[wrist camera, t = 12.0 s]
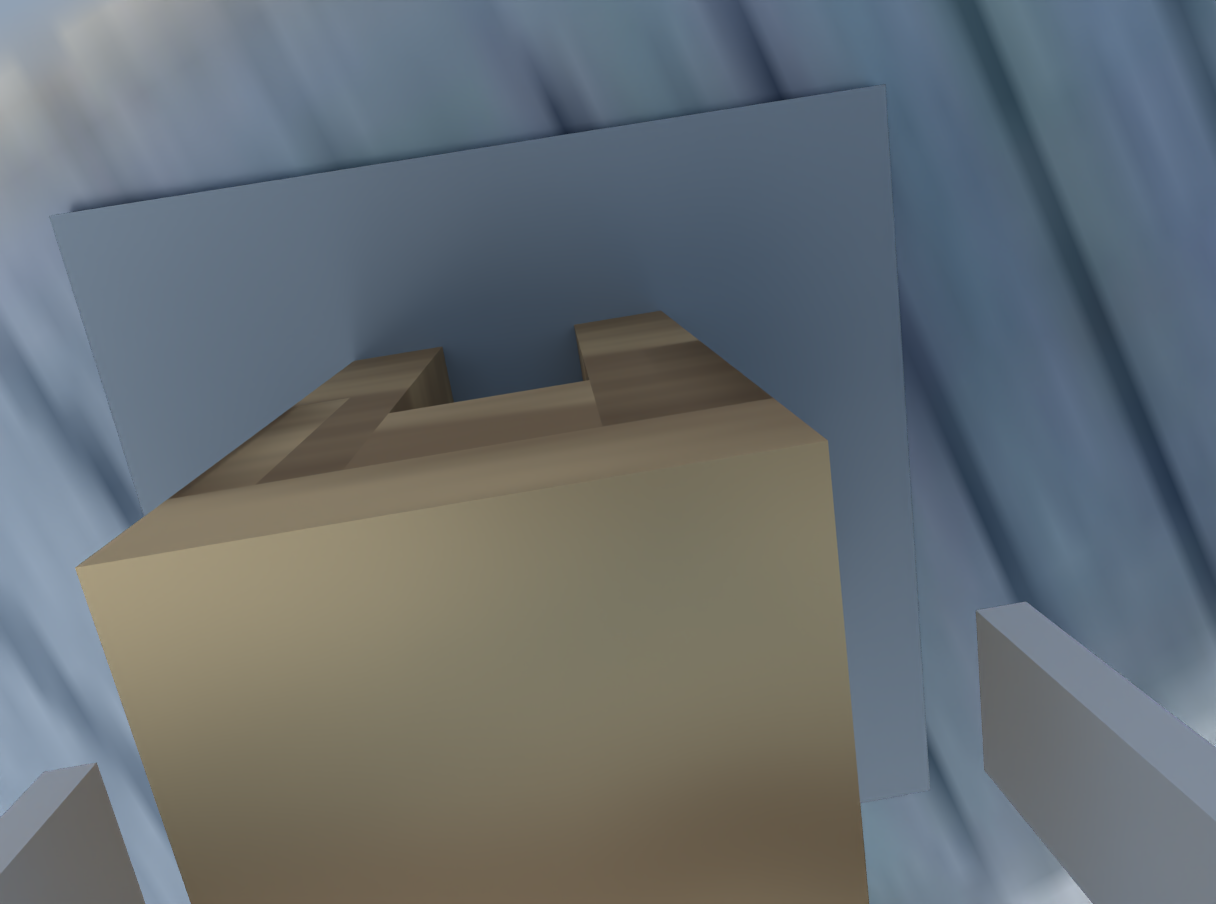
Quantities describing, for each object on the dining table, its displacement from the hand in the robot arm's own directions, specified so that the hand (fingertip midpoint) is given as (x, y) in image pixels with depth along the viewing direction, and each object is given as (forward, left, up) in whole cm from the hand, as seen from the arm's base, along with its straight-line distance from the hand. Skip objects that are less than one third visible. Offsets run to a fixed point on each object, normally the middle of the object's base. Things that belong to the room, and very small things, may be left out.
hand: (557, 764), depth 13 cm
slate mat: (0, 0, -9) cm, 9 cm away
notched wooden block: (0, 0, -8) cm, 8 cm away
